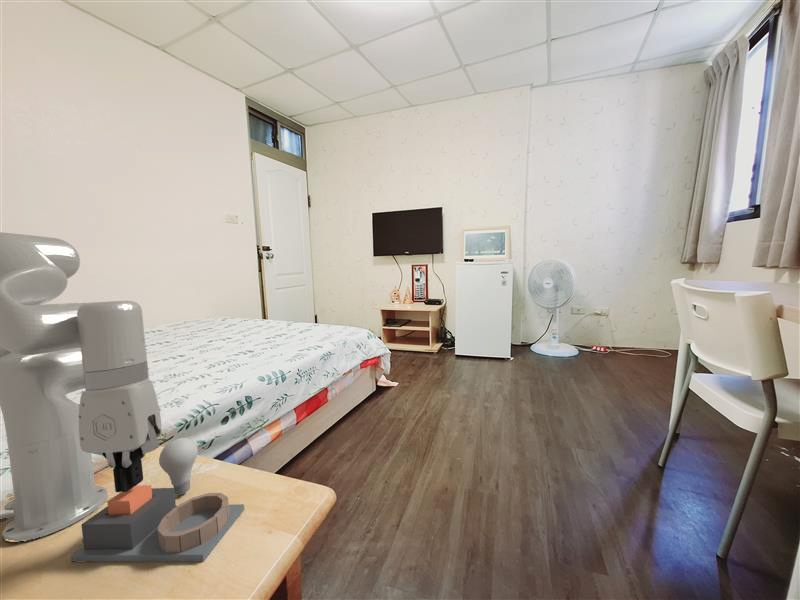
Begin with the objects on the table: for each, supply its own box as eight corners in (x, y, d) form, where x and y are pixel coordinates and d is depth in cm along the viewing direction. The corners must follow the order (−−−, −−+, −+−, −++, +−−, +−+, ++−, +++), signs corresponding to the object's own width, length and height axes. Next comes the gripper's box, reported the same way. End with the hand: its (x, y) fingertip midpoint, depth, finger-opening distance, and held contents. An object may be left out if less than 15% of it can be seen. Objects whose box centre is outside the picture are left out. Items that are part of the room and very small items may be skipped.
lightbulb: (181, 506, 55) (175, 448, 54) (154, 504, 56) (149, 447, 56) (208, 484, 61) (203, 432, 60) (184, 482, 62) (179, 431, 62)
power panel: (71, 562, 44) (67, 529, 44) (135, 511, 54) (132, 485, 54) (203, 561, 43) (200, 528, 43) (244, 509, 53) (241, 482, 53)
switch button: (109, 525, 47) (107, 501, 47) (132, 508, 51) (130, 485, 51) (132, 525, 47) (129, 501, 47) (153, 507, 51) (151, 485, 50)
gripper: (47, 387, 45) (60, 504, 45) (139, 381, 44) (151, 501, 44) (100, 372, 52) (111, 473, 53) (180, 368, 51) (190, 471, 52)
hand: (129, 486), depth 49 cm, fingers closed
